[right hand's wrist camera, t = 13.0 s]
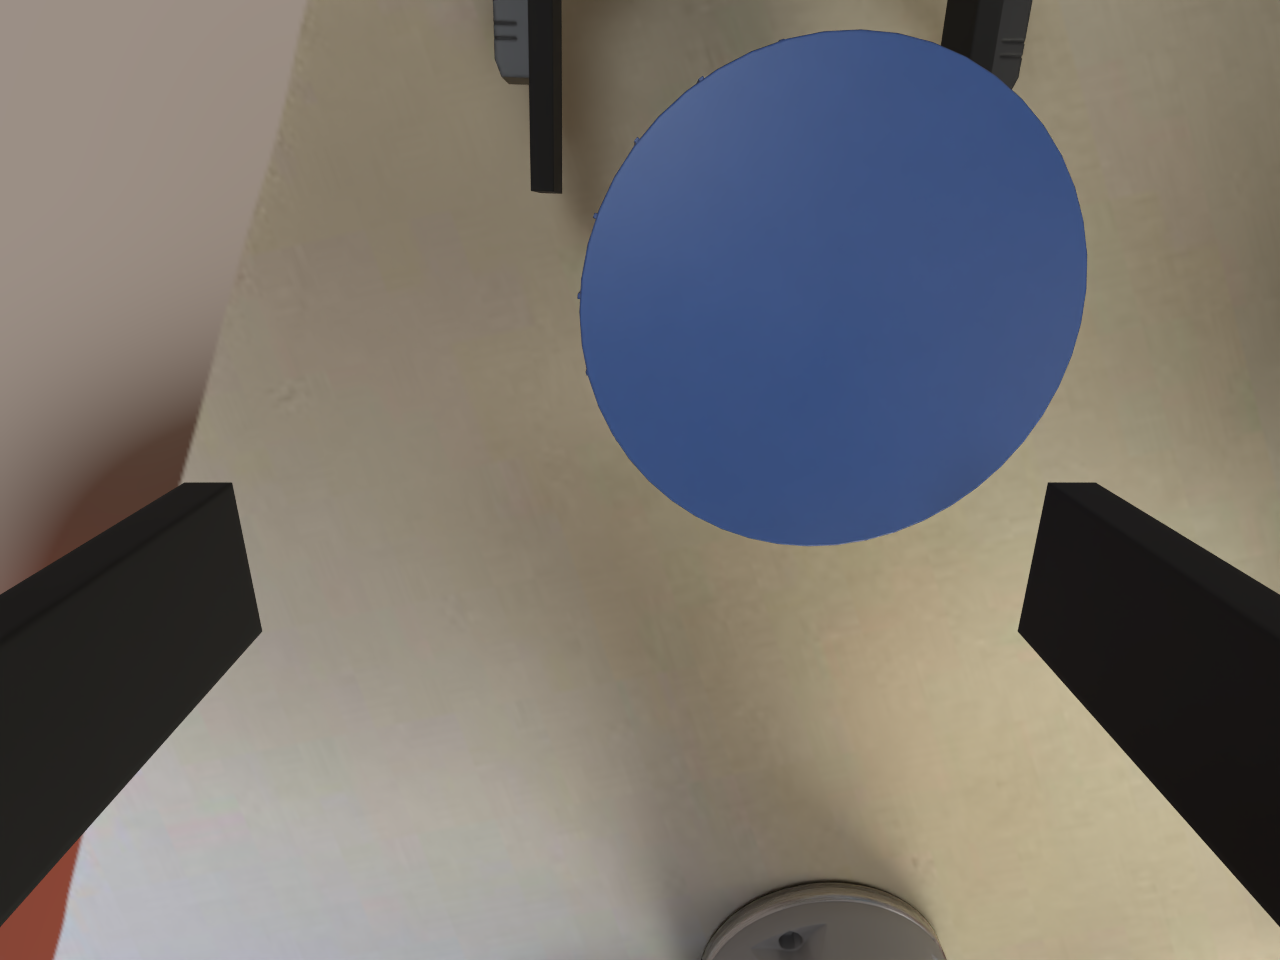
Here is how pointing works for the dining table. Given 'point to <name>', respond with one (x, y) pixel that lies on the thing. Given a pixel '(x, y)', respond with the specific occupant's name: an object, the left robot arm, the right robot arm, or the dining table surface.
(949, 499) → the lid
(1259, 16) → the dining table surface
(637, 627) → the dining table surface
